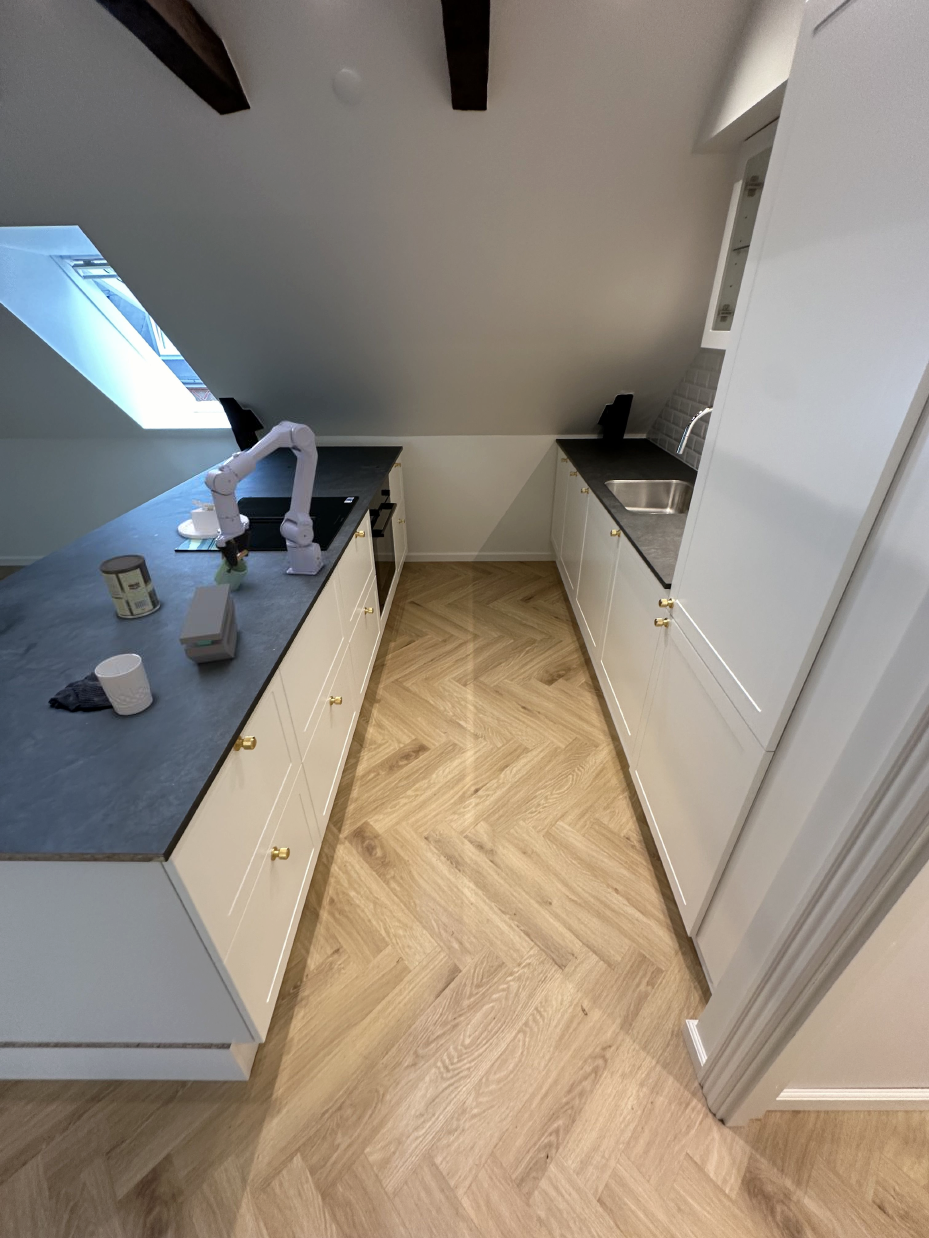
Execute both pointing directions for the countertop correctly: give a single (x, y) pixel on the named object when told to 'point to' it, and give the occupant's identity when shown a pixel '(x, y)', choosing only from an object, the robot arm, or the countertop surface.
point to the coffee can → (130, 585)
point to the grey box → (210, 625)
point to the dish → (203, 522)
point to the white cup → (125, 683)
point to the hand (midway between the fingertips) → (239, 560)
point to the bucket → (232, 572)
